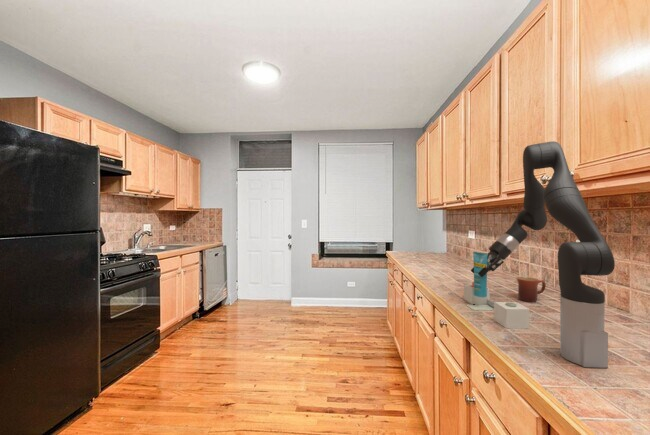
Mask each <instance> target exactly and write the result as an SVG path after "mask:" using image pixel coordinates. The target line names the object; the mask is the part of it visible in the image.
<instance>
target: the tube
mask: <svg viewBox="0 0 650 435" xmlns="http://www.w3.org/2000/svg"><path fill="white" fill-rule="evenodd" d="M472 253H473V254H472V255H473V267H474V273H473V282H474V295H475V296H477V297H487V288H488V286H487V285H488V272H487V273H486V274H485V275H484V276H483V277H481V276H480V275H479V274H478V273H479V272H480V271H481V270H482V269H483V268H485V266H486V265H487V254H488V253H486V252H478V251H472Z"/></svg>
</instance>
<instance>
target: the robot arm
mask: <svg viewBox="0 0 650 435" xmlns="http://www.w3.org/2000/svg"><path fill="white" fill-rule="evenodd" d="M522 167H523V168H522V169H523V172H522V173H523V183H524V195H523V209H522V210H521V211H519V212H518V214H517V216H516V217H515V219H514V221H513V223H512V225H511V226H510V227H509V228H508V230H506V231H505V232H504V233H503V234H502V235H501V236H499V237H498V238H497V239H496V240H495V241H494V242H493V243H492V244H491V245H490V246H489V247H488V249H489V251H488V253H487V265H486V266H485V268H483V269H482V270H481V271H480V272H479V273H478V274H479V275H480V276H481V277H483V276H484V275H485V274H486V273H487V274H488V273H489V272H494V271H495V270H497V269H498V268H499V267H501V265H503V264H504V262H505V261H504V260H506V259H507V258H508V257H509V256H510V255H511V254H512V253H513V252H514V251H515V250H516V249H517V248H518V247H519V245H520V244H521V243H522V242H523V241H524V240H525V239H526V238H527V237H528V232H527V231H526V230H525V229H524V228H523V226H525V227H527V228H529V229H531V230H534V231H540V230H543V229H544V228H545V227H546V225H547V223H548V216H547V212H548V213H549V215H550V216H551V217H552V218H553V219H554V220H555V221H557V222H558V223H559V224H561V225H562V226H564V227H565V228H566V229H568V230H570V232H572V233H573V234H574V235H575V236H576V238H577V239H578V240H579V241H566V242H562V243H561V244H560V245H559V248H558V250H557V268H558V270H557V271H558V285H559V290H560V291H559V292H560V300H559V301H560V305H559V306H560V314H559V316H560V317H559V318H560V319H559V320H560V323H559V327H560V328H559V329H560V330H559V332H560V333H559V336H560V337H559V338H560V339H559V340H560V342H559V343H560V346H559V347H560V350H559V351H560V356H561V357H562V358H563V359H565V360H567V361H569V362H571V363H573V364H577V365H579V366H582V367H583V368H597V369H598V368H602V369H603V368H608V367H609V333H608V332H607V331H606V330H605V313H606V312H605V311H606V310H605V306H606V304H605V303H606V301H605V300H606V296H605V292H604V291H603V290H602V289H599V288H596V287H594V286H591V285H588V284H585V283H584V282H583V281H582V276H597V277H598V276H599V277H600V276H601V277H602V276H603V277H604V276H608V275H610V274H612V273H613V272H614V270H615V266H616V263H615V257H614V254H613V252H612V250H611V247H610V245H609V244H608V243H607V241H606V239H605V238H604V236H603V235H602V234H601V231H600V230H599V228H598V227H597V225H596V224H595V220H593V217H592V216H591V214H590V212H589V210H588V207H587V205H586V203H585V200H584V197H583V195H582V194H581V192H580V189H579V187H578V185H577V184H576V182H575V180H574V177H573V175H572V173H571V171H570V169H569V165H568V162H567V158H566V156H565V153H564V150H563V147H562V145H561V144H560V143H559V142H558V141H555V140H554V141H547V142H546V141H545V142H541V143H533V144H529V145H527V146H525V148H524V149H523V153H522ZM548 168H551V169H553V173H552V176H551V178H550V180H549V181H548V183H547V184H546V185H545V187H544V186H543V184H541V182H540V181H539V180H538V178H536V176H535V170H541V169H548ZM545 206H546V207H545ZM546 209H547V212H546ZM470 272H472V273H473V274H474V266H473V267H472V268H471V269H470Z"/></svg>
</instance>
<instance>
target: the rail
mask: <svg viewBox="0 0 650 435" xmlns="http://www.w3.org/2000/svg"><path fill="white" fill-rule="evenodd" d="M494 302H497V301H496V300H495V299H492V298H490V299H487V305H488V306H490V307H491V308H493V309H494Z"/></svg>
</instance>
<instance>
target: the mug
mask: <svg viewBox="0 0 650 435" xmlns="http://www.w3.org/2000/svg"><path fill="white" fill-rule="evenodd" d="M516 281H517V284H518V286H517V287H518V288H517V289H518V290H517V295H518V299H519V300H520V301H522V302H526V303H535V302H537V301H538V297H539V296H538V295H540V294H542V293H543V292H544V291H545V290H546V282H545V281H544V280H540V279H539V278H536V277H529V276H517V277H516ZM540 283H541V289H540V290H538V285H539V284H540Z"/></svg>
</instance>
